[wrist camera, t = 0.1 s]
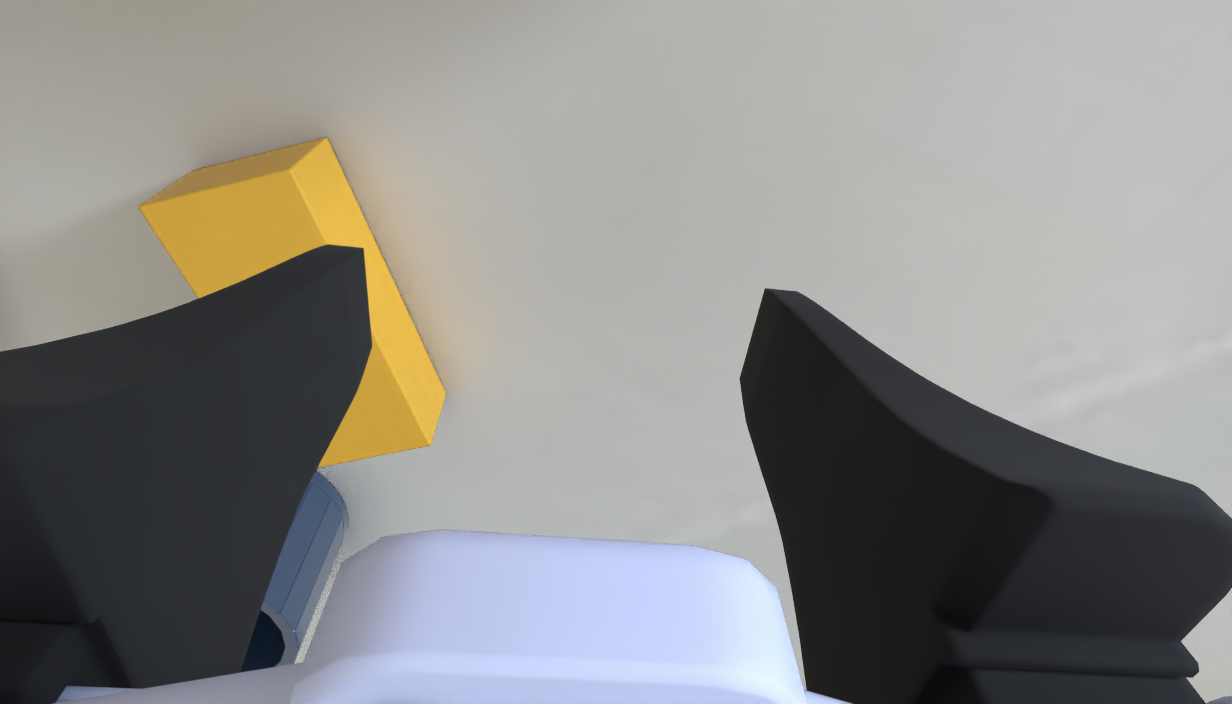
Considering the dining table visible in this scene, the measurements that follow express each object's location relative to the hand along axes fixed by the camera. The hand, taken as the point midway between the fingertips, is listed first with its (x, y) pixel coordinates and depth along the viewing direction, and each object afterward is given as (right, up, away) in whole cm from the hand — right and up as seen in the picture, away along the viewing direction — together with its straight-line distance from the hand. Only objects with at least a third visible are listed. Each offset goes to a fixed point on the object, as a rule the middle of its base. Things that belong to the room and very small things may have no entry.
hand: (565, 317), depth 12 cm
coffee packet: (-9, +1, +11) cm, 14 cm away
